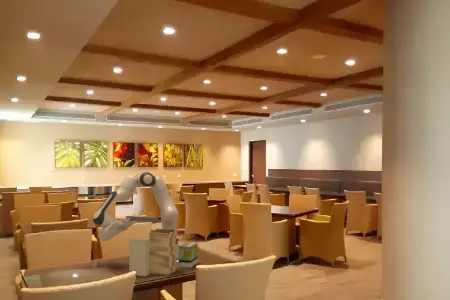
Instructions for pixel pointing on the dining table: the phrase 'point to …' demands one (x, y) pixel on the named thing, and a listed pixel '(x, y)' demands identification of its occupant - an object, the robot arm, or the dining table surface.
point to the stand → (162, 251)
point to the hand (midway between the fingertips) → (132, 217)
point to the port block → (139, 256)
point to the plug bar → (142, 218)
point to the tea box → (187, 255)
